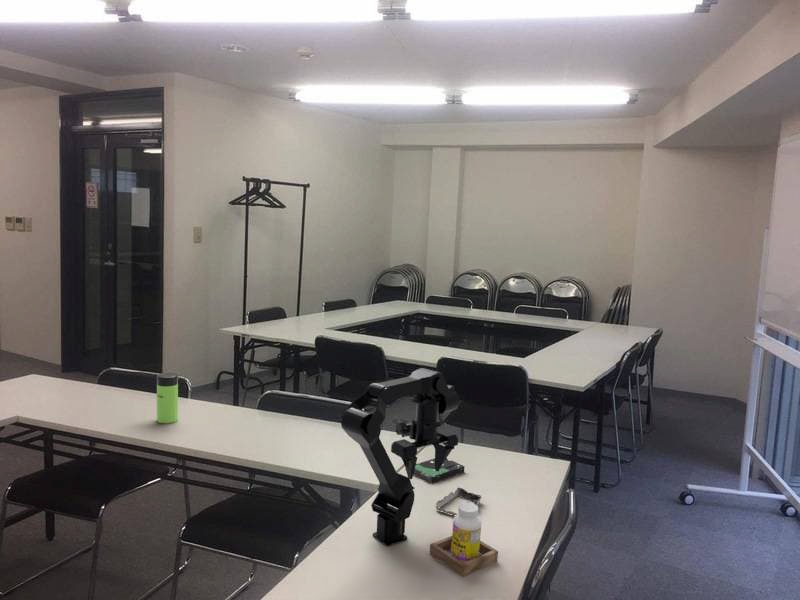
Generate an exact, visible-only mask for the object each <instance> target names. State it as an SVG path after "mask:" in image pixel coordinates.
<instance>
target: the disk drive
mask: <svg viewBox="0 0 800 600" xmlns="http://www.w3.org/2000/svg"><path fill="white" fill-rule="evenodd" d="M464 473H465V465H462V464H461V463H458V462H456V461H454V460H449V459H448V457H447V458H446V460H445V461H444V463H443V465H442V466H441V468H440V470H439V471H438V472H437V471H435V457H434V458H432V459H429V460H424V461H422V462H419V463H416V466H415V471H414V475H413V476H415V477H417V478H419V479H420V480H423V481H425V482H426V483H429V484H431V483H432V484H434V483H437V482H440V481H444V480H446V479H449V478H452V477H455V476H458V475H461V474H464Z"/></svg>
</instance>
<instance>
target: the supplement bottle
mask: <svg viewBox="0 0 800 600" xmlns="http://www.w3.org/2000/svg"><path fill="white" fill-rule="evenodd" d="M457 511H458V513H456V514H457V515H456V516H454V517H453V519H452V520H453V521H452V523H453V524H452V532H451V533H452V535H451V536H452V545H451V548H450V554H451V555H453V556H454V557H456V558H457V559H459V560H460V561H462V562H463V563H464V562H467V561H469V560H471V559H474V558H476V557H478V556H480V553H479V547H480V541H481V534H482V520H481V517H480V516H479V515H478V514H479V506H478V505H475V503H471V502H462V503H459V504H458V509H457Z"/></svg>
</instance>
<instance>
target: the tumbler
mask: <svg viewBox="0 0 800 600" xmlns="http://www.w3.org/2000/svg"><path fill="white" fill-rule="evenodd" d="M178 381H179V374H178V373H176V372H175V373H174V372H161V373H158V374H157V375H156V421H157V423H160V424H174V423H176V422H177V421H178V420H179V414H178V413H179V382H178Z"/></svg>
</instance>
